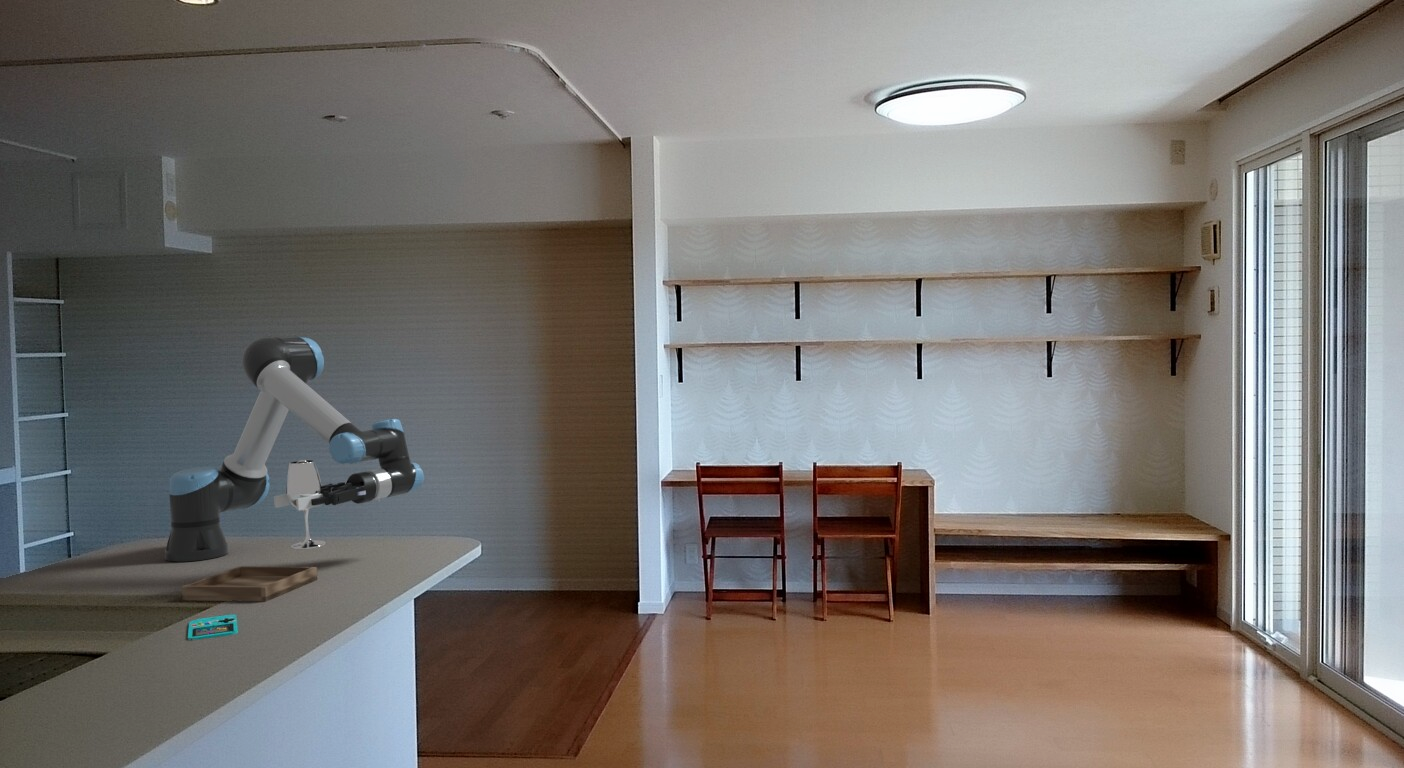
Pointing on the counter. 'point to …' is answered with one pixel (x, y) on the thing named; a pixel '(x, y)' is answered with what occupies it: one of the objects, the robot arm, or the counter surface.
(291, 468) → the wineglass
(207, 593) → the walnut tray
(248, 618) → the counter surface
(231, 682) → the counter surface
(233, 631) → the handheld gaming console
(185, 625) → the counter surface
